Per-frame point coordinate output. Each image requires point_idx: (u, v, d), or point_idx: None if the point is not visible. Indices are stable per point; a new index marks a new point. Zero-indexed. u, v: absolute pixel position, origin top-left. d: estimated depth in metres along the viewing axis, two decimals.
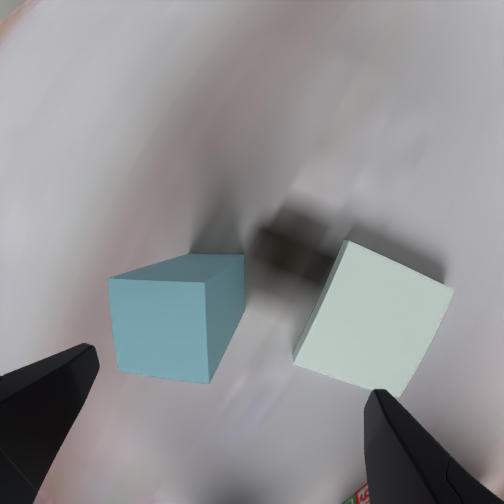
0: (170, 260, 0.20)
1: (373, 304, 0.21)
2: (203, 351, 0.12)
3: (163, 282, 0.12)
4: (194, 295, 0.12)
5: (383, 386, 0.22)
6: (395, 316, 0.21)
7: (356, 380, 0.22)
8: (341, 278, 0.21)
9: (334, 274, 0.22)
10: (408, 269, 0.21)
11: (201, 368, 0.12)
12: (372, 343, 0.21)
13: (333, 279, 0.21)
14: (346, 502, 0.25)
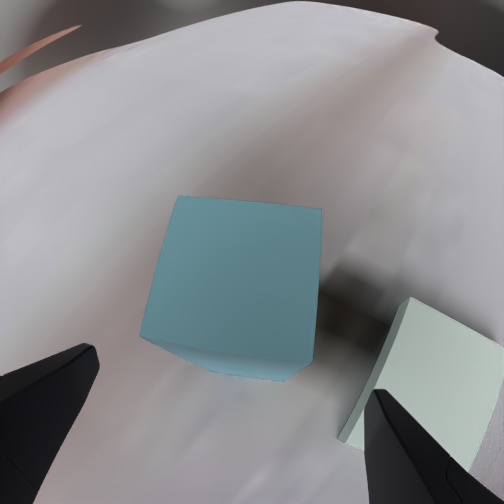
0: None
1: (437, 367, 0.16)
2: (311, 303, 0.08)
3: (263, 204, 0.09)
4: (306, 222, 0.09)
5: None
6: (459, 381, 0.15)
7: None
8: (404, 336, 0.17)
9: (396, 333, 0.17)
10: (467, 328, 0.17)
11: (303, 332, 0.07)
12: (437, 414, 0.14)
13: (396, 337, 0.17)
14: None
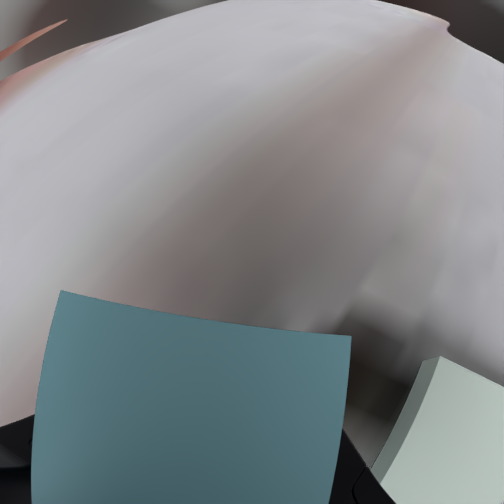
0: None
1: (463, 438, 0.11)
2: None
3: (219, 326, 0.04)
4: (315, 373, 0.04)
5: None
6: (485, 449, 0.10)
7: None
8: (429, 407, 0.12)
9: (419, 403, 0.12)
10: (500, 387, 0.11)
11: None
12: (457, 489, 0.09)
13: (419, 410, 0.12)
14: None
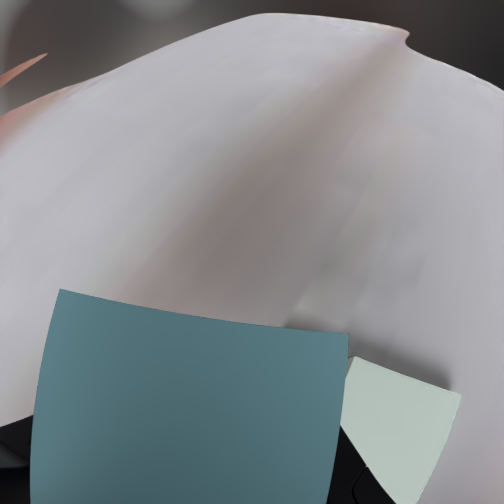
0: None
1: (380, 418, 0.17)
2: None
3: (217, 324, 0.04)
4: (312, 371, 0.04)
5: None
6: (404, 428, 0.17)
7: None
8: (347, 394, 0.18)
9: None
10: (414, 380, 0.18)
11: None
12: (380, 459, 0.16)
13: None
14: None
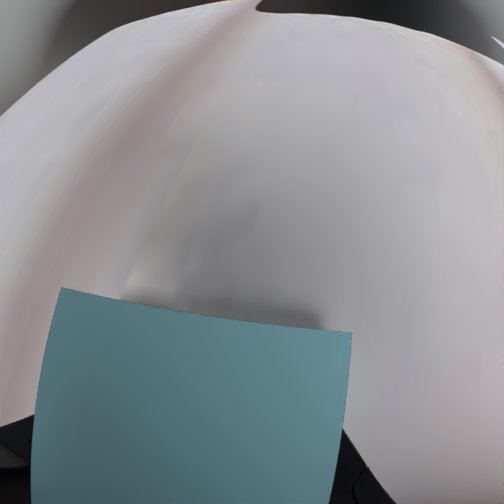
0: None
1: None
2: None
3: (219, 322, 0.04)
4: (315, 369, 0.04)
5: None
6: None
7: None
8: None
9: None
10: None
11: None
12: None
13: None
14: None
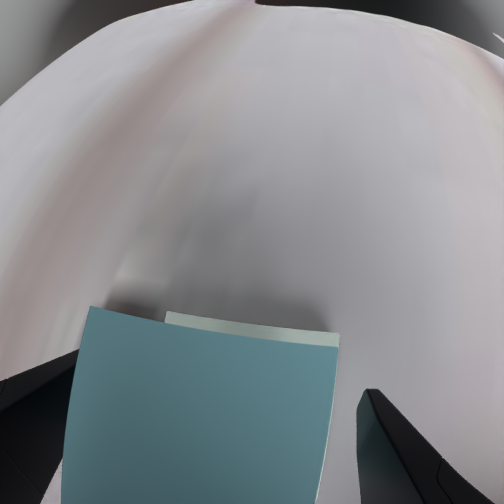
0: None
1: None
2: None
3: (230, 338, 0.05)
4: (307, 377, 0.05)
5: None
6: None
7: None
8: None
9: None
10: (254, 326, 0.17)
11: None
12: None
13: None
14: None
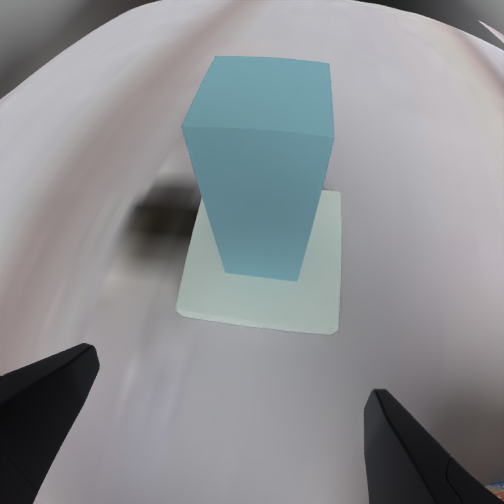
0: None
1: None
2: (327, 105, 0.09)
3: (283, 59, 0.10)
4: (317, 68, 0.10)
5: (305, 316, 0.18)
6: None
7: (262, 314, 0.18)
8: None
9: None
10: None
11: (323, 119, 0.08)
12: None
13: (198, 212, 0.21)
14: None
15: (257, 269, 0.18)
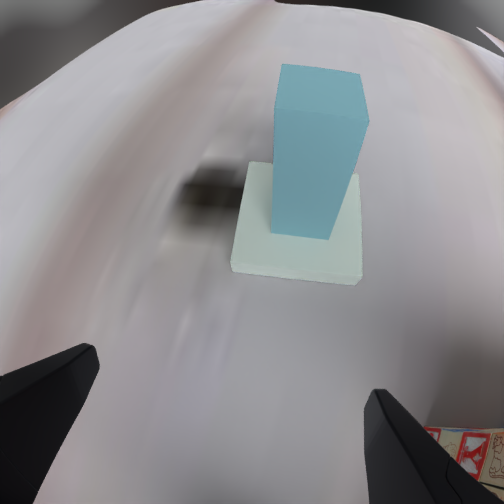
0: None
1: None
2: (362, 101, 0.13)
3: (329, 69, 0.15)
4: (353, 77, 0.14)
5: (336, 266, 0.23)
6: None
7: (302, 265, 0.23)
8: (251, 184, 0.26)
9: (245, 185, 0.26)
10: None
11: (361, 110, 0.13)
12: None
13: (245, 186, 0.26)
14: None
15: (298, 228, 0.23)
